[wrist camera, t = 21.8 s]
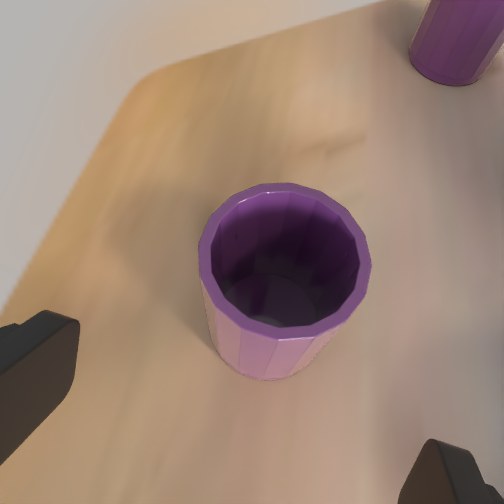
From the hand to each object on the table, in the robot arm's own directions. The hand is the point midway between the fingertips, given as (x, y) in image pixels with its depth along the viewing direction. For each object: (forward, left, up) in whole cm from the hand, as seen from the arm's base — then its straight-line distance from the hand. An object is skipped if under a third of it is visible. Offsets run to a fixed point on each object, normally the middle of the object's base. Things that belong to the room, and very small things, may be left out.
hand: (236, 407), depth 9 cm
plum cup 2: (-7, -28, -10) cm, 31 cm away
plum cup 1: (0, -5, -10) cm, 11 cm away
